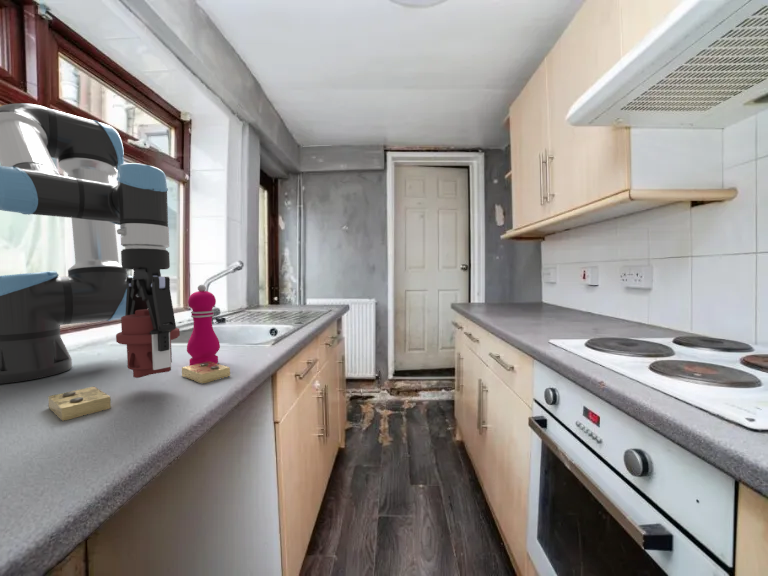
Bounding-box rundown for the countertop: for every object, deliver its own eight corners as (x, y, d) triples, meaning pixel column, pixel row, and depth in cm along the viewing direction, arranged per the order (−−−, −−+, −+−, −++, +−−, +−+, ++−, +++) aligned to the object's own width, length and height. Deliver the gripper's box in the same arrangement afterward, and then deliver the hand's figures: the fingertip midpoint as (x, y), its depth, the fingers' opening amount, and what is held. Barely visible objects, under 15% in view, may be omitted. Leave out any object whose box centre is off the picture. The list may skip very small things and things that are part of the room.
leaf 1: (48, 407, 56) (48, 394, 56) (94, 397, 61) (93, 384, 61) (62, 421, 51) (61, 406, 51) (110, 408, 56) (110, 394, 56)
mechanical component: (192, 366, 68) (149, 382, 59) (152, 364, 70) (103, 379, 61) (190, 307, 68) (146, 312, 58) (149, 306, 70) (100, 312, 60)
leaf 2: (182, 376, 73) (181, 366, 73) (209, 369, 78) (209, 360, 78) (202, 383, 68) (201, 372, 68) (230, 376, 73) (229, 366, 73)
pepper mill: (215, 359, 88) (213, 284, 87) (224, 364, 82) (221, 284, 82) (184, 364, 83) (181, 284, 82) (191, 370, 78) (188, 285, 77)
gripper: (101, 250, 67) (106, 359, 68) (146, 243, 54) (151, 378, 55) (145, 252, 73) (149, 352, 74) (194, 246, 60) (199, 368, 61)
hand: (150, 363), depth 64 cm, fingers closed on mechanical component, 10 cm apart
